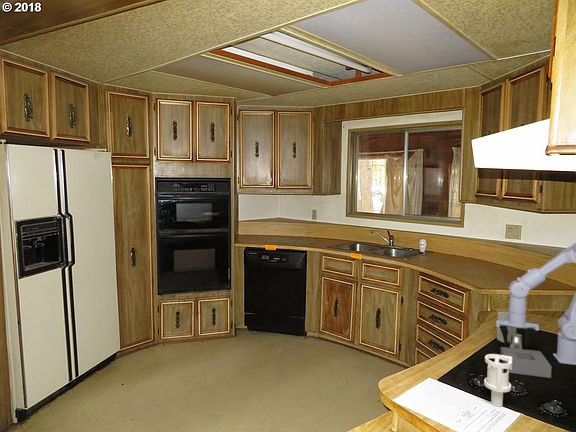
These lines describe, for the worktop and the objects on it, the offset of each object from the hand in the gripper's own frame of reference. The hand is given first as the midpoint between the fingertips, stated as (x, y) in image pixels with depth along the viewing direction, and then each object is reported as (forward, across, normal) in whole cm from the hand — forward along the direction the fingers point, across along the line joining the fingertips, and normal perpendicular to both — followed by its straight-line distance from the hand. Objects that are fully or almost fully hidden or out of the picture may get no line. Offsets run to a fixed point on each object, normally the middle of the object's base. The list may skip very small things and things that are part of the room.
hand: (515, 346), depth 154 cm
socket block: (+3, 0, +13) cm, 13 cm away
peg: (+3, 0, 0) cm, 3 cm away
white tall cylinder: (+3, +14, +43) cm, 45 cm away
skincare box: (+3, +1, -12) cm, 12 cm away
